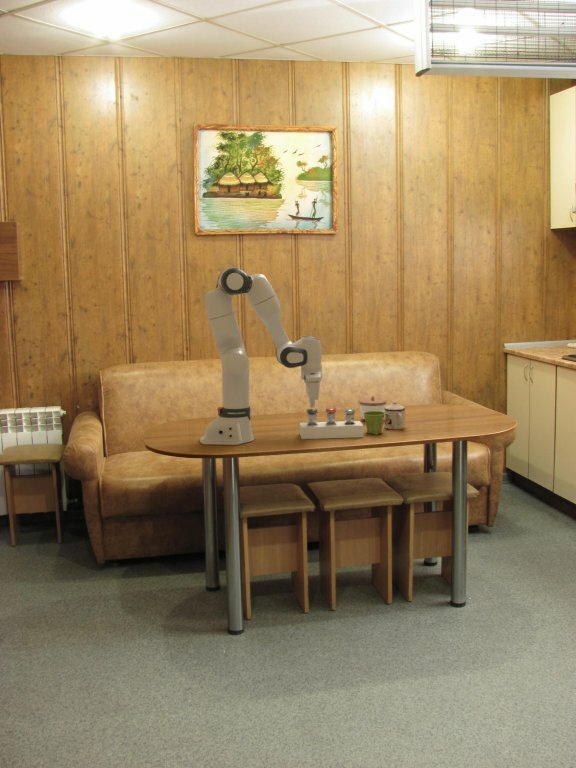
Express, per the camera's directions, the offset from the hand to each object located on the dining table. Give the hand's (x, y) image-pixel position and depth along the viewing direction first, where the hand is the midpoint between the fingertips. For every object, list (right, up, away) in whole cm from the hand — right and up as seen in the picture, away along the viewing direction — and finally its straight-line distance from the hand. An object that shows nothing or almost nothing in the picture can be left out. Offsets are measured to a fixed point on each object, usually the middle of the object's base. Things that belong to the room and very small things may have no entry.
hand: (312, 407), depth 340 cm
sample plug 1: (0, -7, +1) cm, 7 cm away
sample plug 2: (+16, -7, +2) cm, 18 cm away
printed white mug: (+37, -10, +15) cm, 42 cm away
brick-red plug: (+8, -7, +2) cm, 11 cm away
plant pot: (+27, -12, +6) cm, 30 cm away
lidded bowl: (+29, -7, +34) cm, 46 cm away
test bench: (+8, -12, +2) cm, 15 cm away
